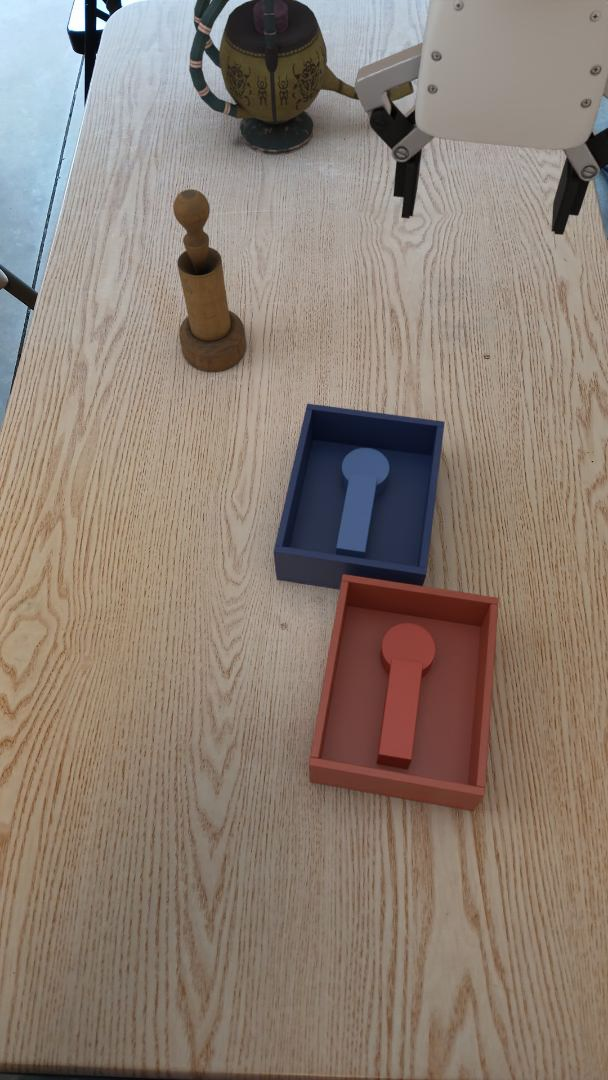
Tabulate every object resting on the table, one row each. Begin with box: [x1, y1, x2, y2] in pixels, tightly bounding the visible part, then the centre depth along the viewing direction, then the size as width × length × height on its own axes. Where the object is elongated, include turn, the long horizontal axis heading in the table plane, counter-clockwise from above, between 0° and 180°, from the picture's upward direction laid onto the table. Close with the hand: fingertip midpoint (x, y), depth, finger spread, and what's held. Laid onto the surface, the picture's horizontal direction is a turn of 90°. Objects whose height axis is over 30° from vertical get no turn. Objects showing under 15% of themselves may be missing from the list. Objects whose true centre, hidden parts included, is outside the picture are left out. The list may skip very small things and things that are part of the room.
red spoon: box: [377, 623, 436, 769], centre depth 64 cm, size 11×4×3 cm, turn 170°
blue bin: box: [273, 403, 446, 590], centre depth 71 cm, size 15×12×5 cm
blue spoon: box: [336, 448, 389, 559], centre depth 72 cm, size 11×4×3 cm, turn 170°
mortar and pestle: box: [172, 188, 247, 373], centre depth 76 cm, size 7×6×18 cm
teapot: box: [188, 0, 415, 156], centre depth 90 cm, size 12×25×23 cm, turn 91°
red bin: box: [308, 574, 500, 812], centre depth 63 cm, size 15×12×5 cm
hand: (482, 212), depth 54 cm, fingers open, 9 cm apart
